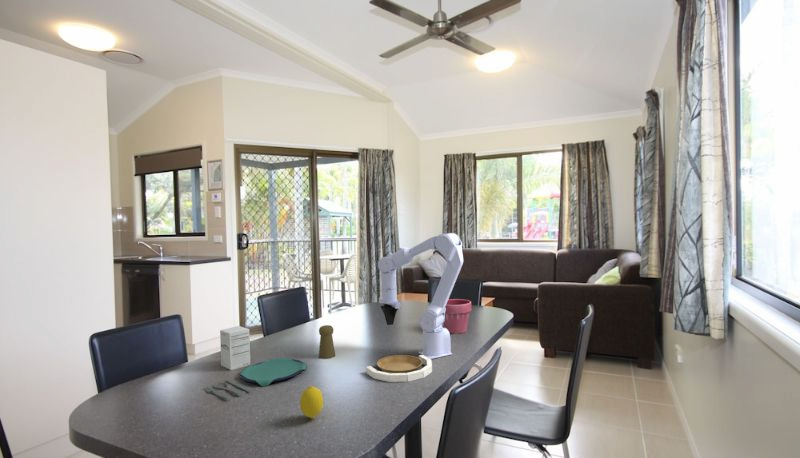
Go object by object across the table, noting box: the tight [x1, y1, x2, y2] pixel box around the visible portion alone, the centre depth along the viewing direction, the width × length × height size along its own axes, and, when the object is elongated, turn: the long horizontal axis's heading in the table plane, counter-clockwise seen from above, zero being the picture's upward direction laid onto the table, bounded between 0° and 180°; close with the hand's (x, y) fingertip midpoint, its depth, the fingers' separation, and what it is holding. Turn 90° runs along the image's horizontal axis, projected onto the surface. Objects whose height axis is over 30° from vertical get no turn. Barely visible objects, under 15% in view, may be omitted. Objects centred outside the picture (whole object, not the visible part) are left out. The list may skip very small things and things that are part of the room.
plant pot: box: [443, 298, 472, 335], centre depth 175 cm, size 14×14×13 cm
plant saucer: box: [376, 354, 423, 373], centre depth 132 cm, size 15×15×3 cm
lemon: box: [299, 385, 324, 419], centre depth 100 cm, size 6×6×8 cm
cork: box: [318, 325, 336, 360], centre depth 147 cm, size 6×6×11 cm
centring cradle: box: [365, 354, 433, 383], centre depth 128 cm, size 21×13×2 cm, turn 118°
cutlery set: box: [202, 357, 307, 402], centre depth 127 cm, size 20×30×2 cm, turn 139°
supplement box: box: [219, 325, 251, 371], centre depth 140 cm, size 7×7×13 cm
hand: (390, 324), depth 153 cm, fingers closed
